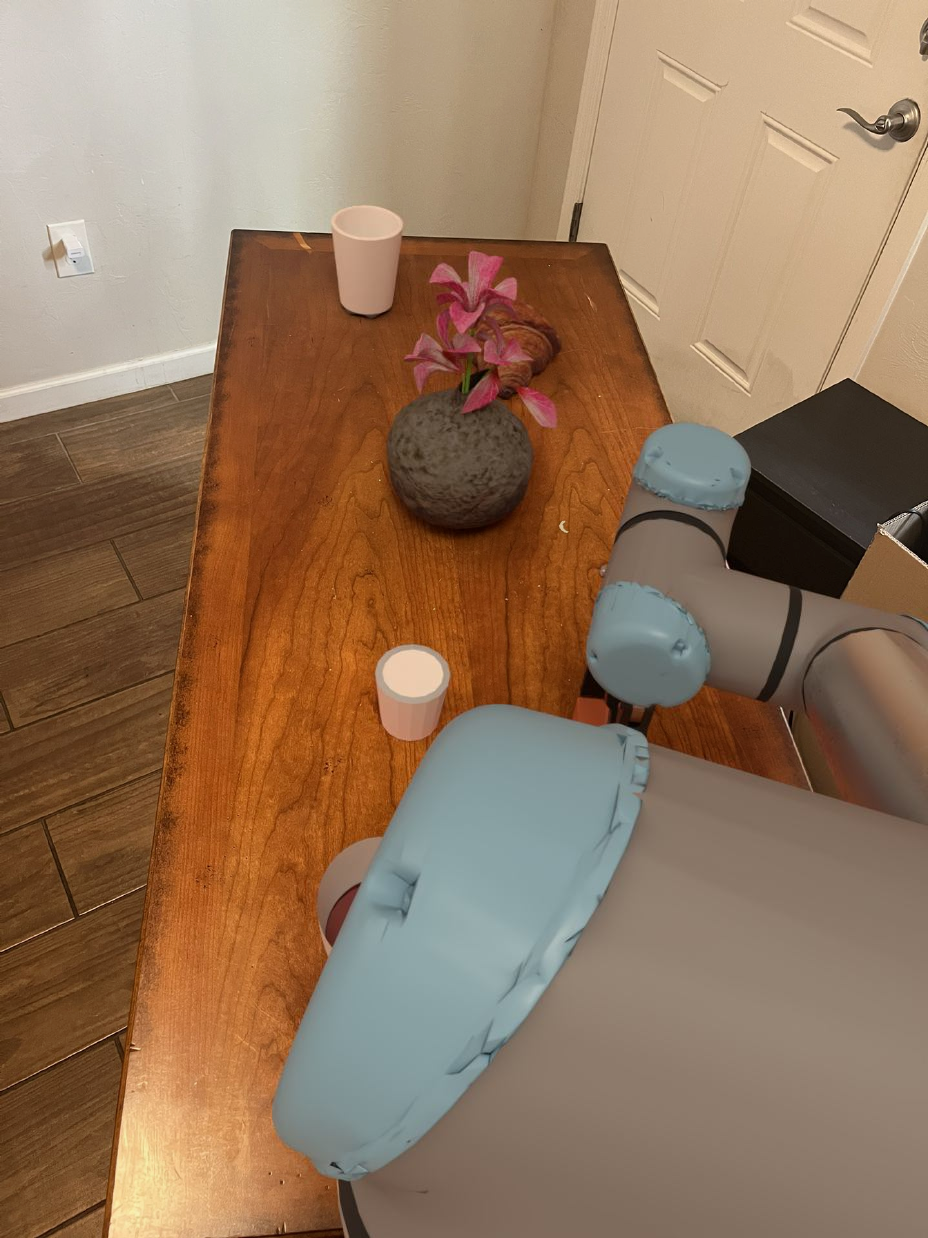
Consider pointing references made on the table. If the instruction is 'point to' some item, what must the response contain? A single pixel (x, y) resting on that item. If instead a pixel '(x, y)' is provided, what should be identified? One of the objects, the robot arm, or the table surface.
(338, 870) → the wineglass
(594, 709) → the terracotta block
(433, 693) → the shot glass
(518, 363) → the pastry
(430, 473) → the vase
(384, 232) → the cup
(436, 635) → the table surface
